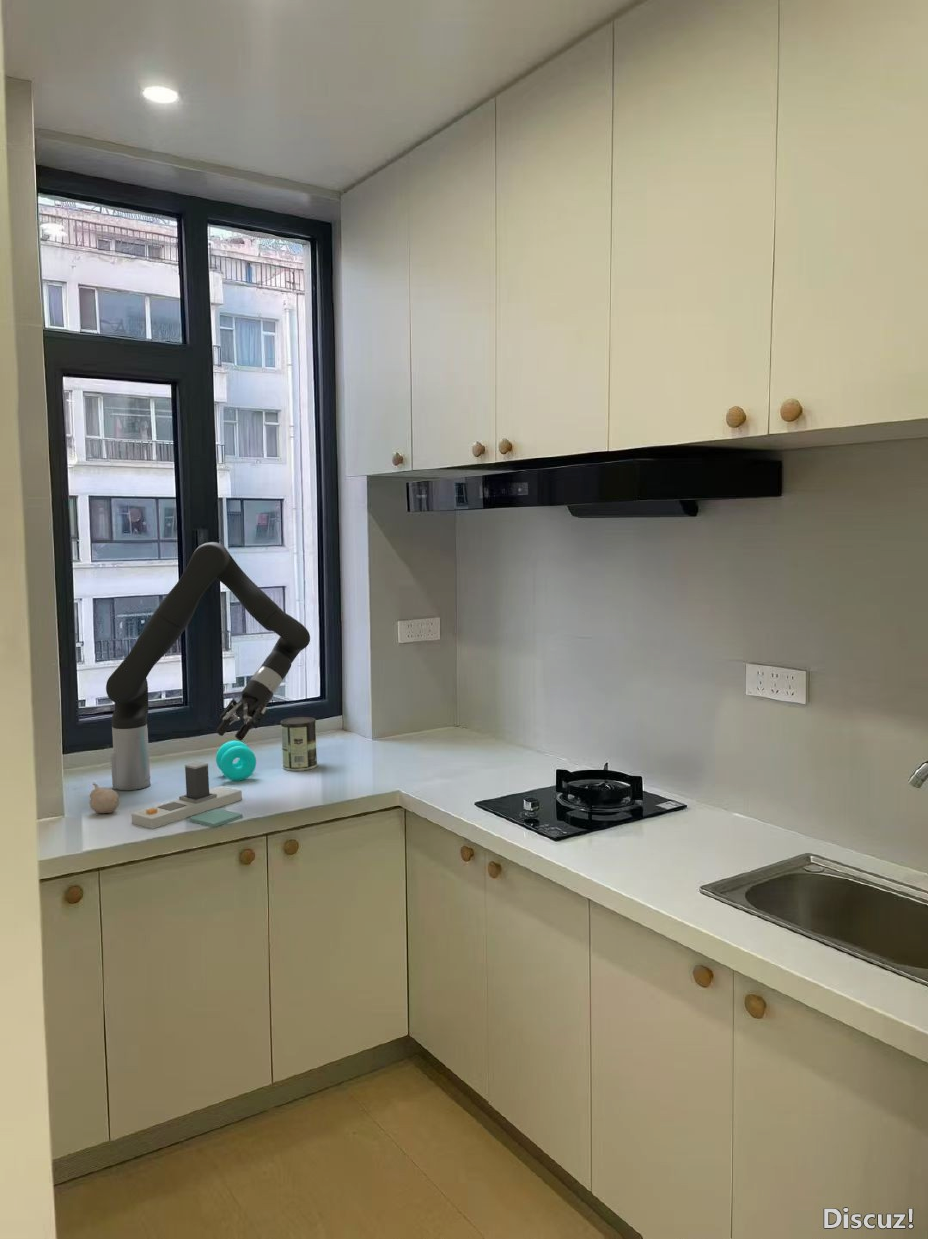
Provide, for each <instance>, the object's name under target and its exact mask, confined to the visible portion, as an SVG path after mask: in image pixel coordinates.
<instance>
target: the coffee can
mask: <svg viewBox="0 0 928 1239" xmlns="http://www.w3.org/2000/svg"><path fill="white" fill-rule="evenodd" d="M316 721H317V719H316V718H314V717H310V716H297V717H296V716H294V717H293V716H292V717H288V718H284V719H282V720H280V730H281V731H280V732H281V752H282V769H283V770H285V771H291V772H299V771H300V772H301V771H308V770H313V769H315V768H317V767H318V757H317V739H316V738H317V733H316Z"/></svg>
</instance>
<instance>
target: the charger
mask: <svg viewBox="0 0 928 1239" xmlns="http://www.w3.org/2000/svg"><path fill="white" fill-rule="evenodd" d="M184 771H185V772H184V773H185V775H184V776H185V791H186V794H187V798H191V799H195V800H197V799H200V798H204V797H207V796H209V790H210V780H209V763H207V762H202V761H194V762H190V763H188V764H184ZM186 794H185V795H186Z"/></svg>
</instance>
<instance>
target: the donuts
mask: <svg viewBox="0 0 928 1239" xmlns="http://www.w3.org/2000/svg"><path fill="white" fill-rule="evenodd" d="M236 759H238V760H237V761H236V762H234V760H236ZM215 762H216V764H217V765H216V766H217V767H218V769H219V770H220V771H221V772H222V774H223V776H224V777H226V778H227V779H228V780H230V781H235V782H238V781H244V780H246V779H248V778H249V777H250V776H252V774H253V773H254V771H255V770H256V765H257V757H256V755H255V753H254V752H253V751H252V750H251V749H250V748H249V746H248V745H246V743H244V742H242V741H240V740H229V741H227V742H226V743H225V742H224V743H223V744H222V745H221V746H220V747H219V749H217V752H216V756H215Z"/></svg>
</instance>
